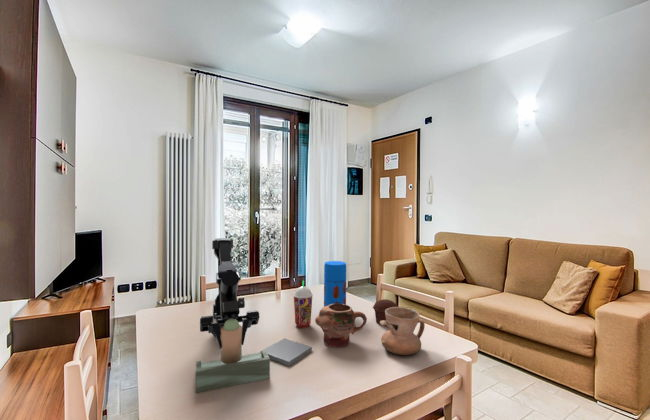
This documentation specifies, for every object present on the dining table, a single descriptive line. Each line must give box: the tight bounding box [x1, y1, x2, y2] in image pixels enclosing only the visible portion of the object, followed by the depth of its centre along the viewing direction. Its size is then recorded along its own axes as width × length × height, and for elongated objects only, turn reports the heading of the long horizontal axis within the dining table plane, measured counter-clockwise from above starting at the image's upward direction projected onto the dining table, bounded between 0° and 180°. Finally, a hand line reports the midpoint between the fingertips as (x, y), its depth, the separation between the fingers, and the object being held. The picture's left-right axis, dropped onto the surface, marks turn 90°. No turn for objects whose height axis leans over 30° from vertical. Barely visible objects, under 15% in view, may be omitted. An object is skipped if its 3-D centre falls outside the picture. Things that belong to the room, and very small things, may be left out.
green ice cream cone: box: [220, 318, 243, 364], centre depth 101 cm, size 6×6×13 cm
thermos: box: [323, 260, 347, 307], centre depth 153 cm, size 11×11×25 cm
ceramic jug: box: [379, 306, 425, 356], centre depth 116 cm, size 18×14×14 cm
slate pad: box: [259, 337, 313, 367], centre depth 113 cm, size 13×13×2 cm
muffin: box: [372, 298, 399, 327], centre depth 143 cm, size 12×11×10 cm
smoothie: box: [293, 280, 313, 329], centre depth 139 cm, size 8×8×20 cm
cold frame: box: [195, 349, 271, 394], centre depth 99 cm, size 13×21×6 cm, turn 112°
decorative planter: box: [314, 303, 368, 348], centre depth 122 cm, size 20×12×14 cm, turn 97°
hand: (231, 346), depth 100 cm, fingers closed on green ice cream cone, 6 cm apart
